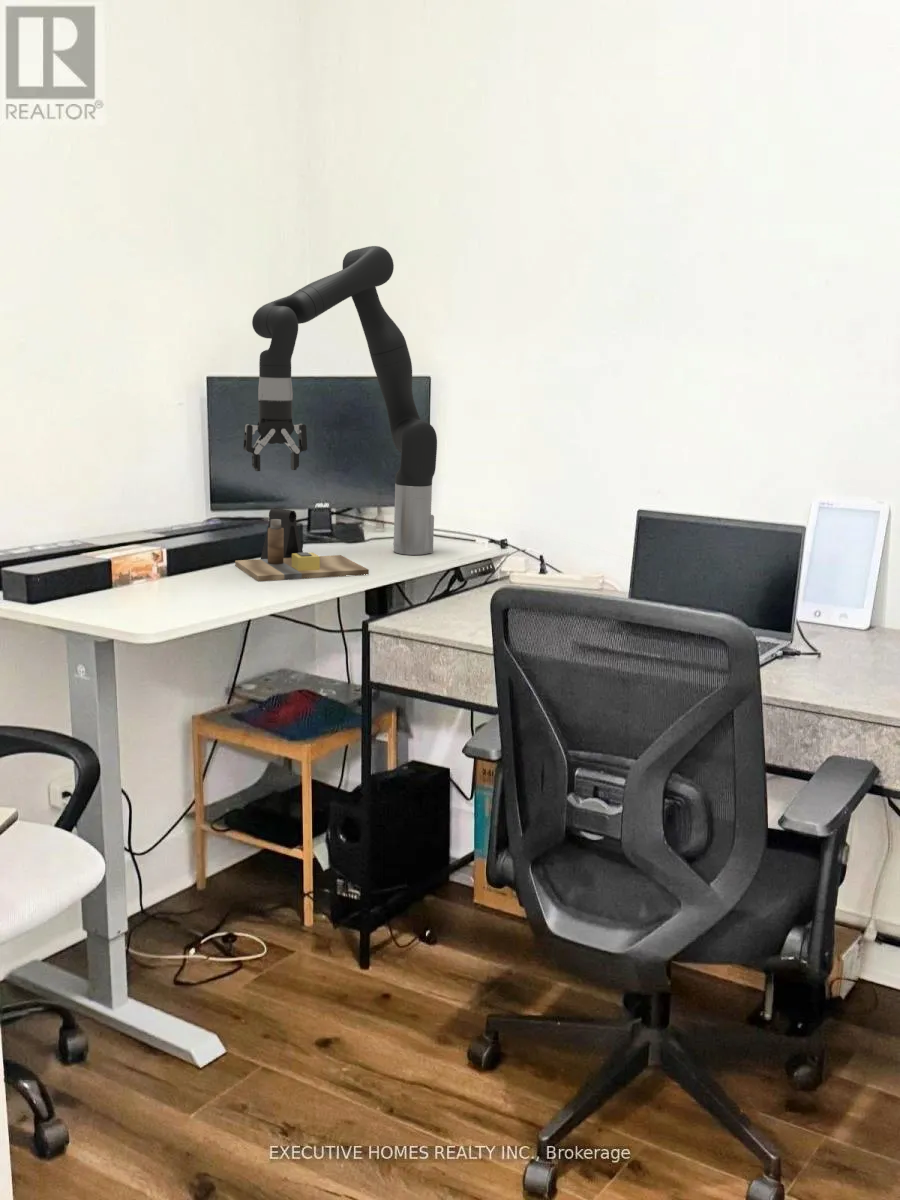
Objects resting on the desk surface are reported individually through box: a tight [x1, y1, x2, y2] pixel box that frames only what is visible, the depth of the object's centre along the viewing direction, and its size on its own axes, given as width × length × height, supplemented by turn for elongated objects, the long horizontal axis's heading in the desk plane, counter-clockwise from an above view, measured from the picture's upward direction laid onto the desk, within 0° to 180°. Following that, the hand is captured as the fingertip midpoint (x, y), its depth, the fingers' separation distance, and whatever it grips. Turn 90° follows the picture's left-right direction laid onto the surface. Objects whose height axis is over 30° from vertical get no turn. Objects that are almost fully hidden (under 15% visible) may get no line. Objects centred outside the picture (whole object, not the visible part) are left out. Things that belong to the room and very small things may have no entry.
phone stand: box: [260, 507, 304, 559], centre depth 279 cm, size 9×6×12 cm, turn 148°
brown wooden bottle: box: [267, 519, 284, 564], centre depth 268 cm, size 4×4×10 cm
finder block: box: [292, 551, 321, 571], centre depth 264 cm, size 5×5×3 cm
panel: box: [234, 554, 370, 582], centre depth 268 cm, size 26×18×1 cm
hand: (275, 470), depth 264 cm, fingers open, 8 cm apart
